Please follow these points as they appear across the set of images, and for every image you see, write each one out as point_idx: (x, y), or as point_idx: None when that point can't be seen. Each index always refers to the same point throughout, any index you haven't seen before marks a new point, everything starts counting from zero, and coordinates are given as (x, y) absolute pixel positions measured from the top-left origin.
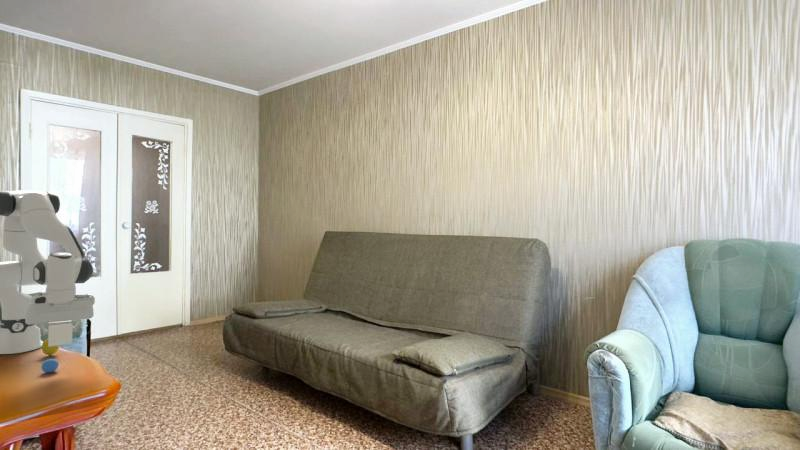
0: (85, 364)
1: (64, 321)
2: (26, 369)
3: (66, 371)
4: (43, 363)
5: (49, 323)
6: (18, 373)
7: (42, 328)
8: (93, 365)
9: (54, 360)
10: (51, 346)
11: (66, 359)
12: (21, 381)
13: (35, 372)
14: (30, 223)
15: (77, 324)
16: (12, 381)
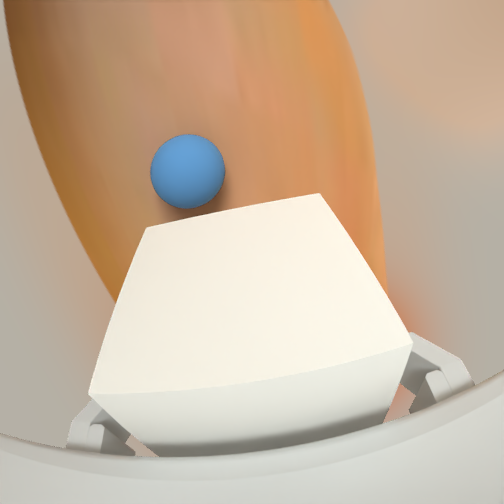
0: (330, 91)
1: (306, 418)
2: (77, 74)
3: (261, 174)
4: (159, 195)
5: (154, 447)
6: (66, 129)
7: (123, 427)
8: (364, 130)
9: (207, 188)
10: None
11: None
12: (123, 246)
13: (127, 136)
14: None
15: (411, 386)
16: (91, 233)
